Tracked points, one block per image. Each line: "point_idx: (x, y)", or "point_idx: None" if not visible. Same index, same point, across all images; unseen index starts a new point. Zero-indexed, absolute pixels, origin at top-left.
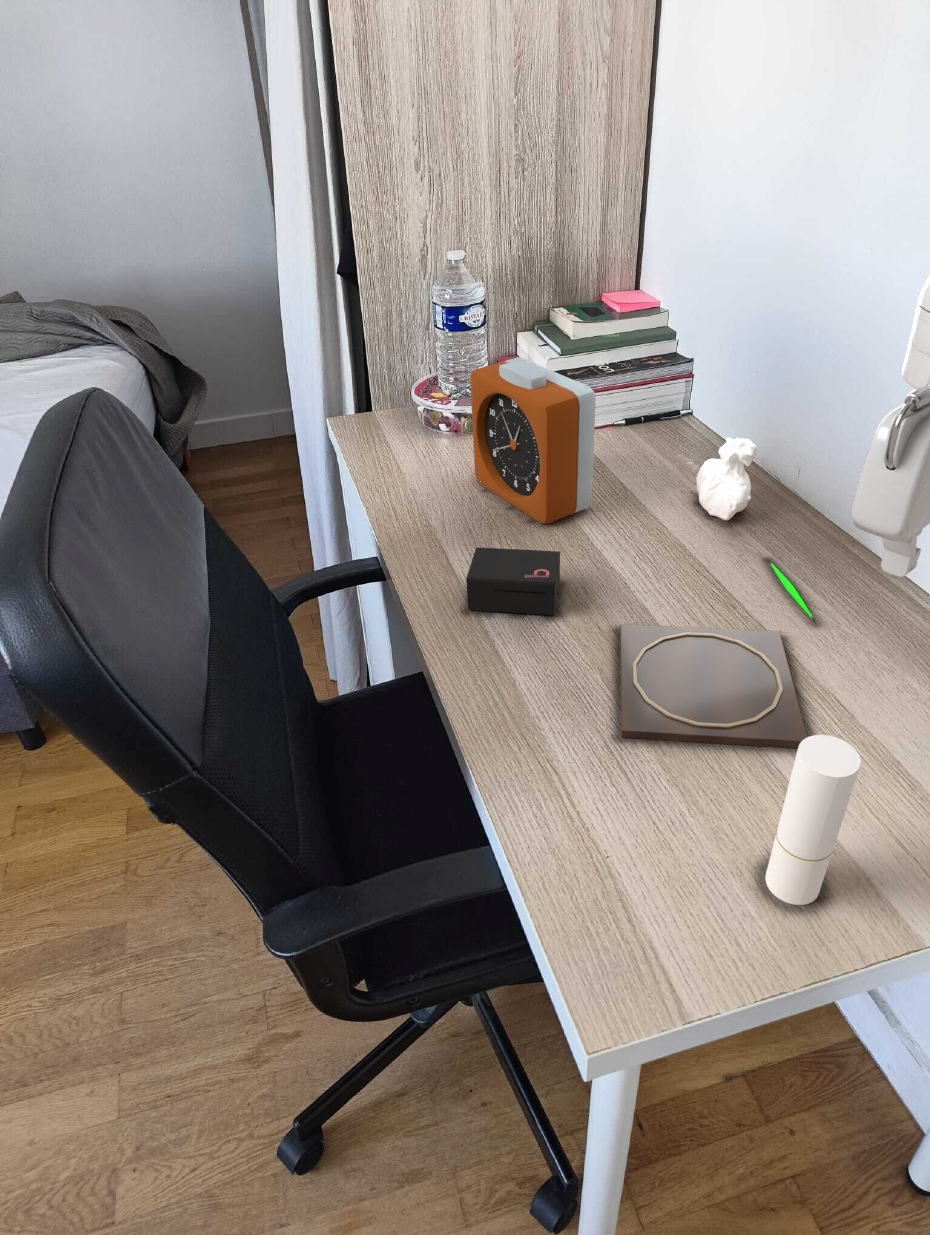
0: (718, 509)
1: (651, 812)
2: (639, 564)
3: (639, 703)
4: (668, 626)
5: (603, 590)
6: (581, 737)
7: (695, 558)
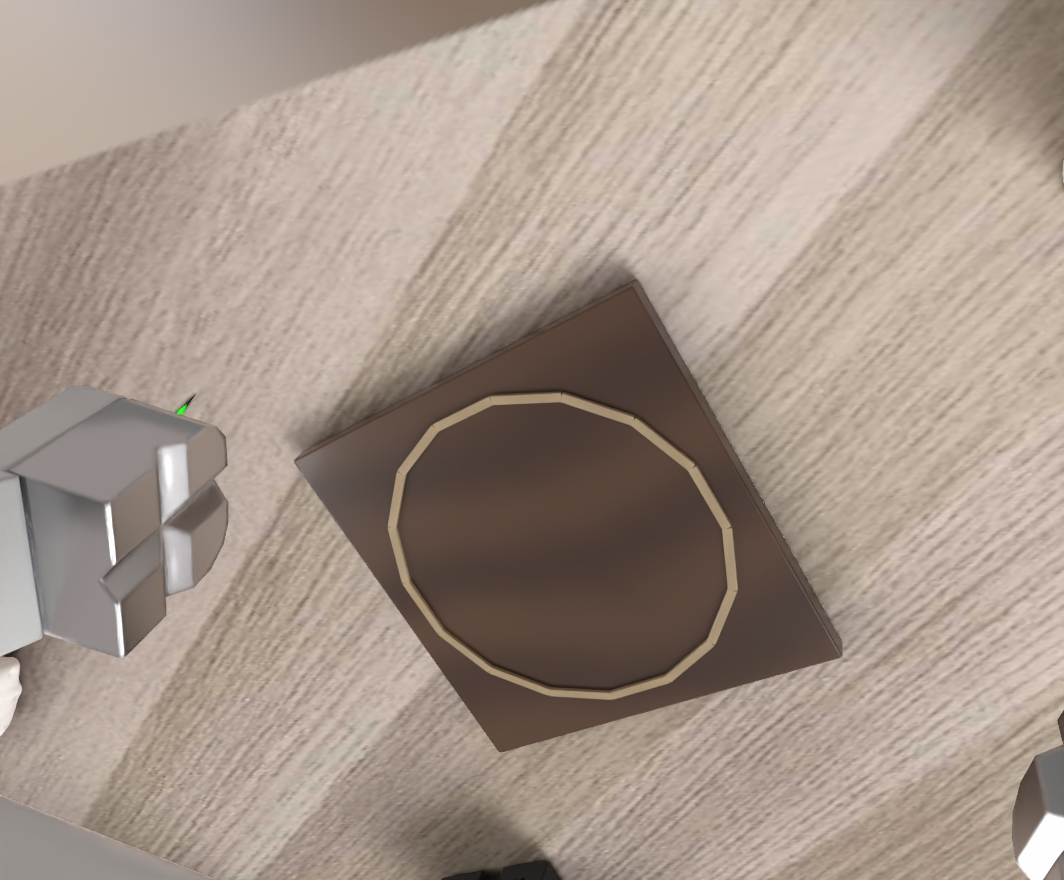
0: (6, 692)
1: (1053, 517)
2: (275, 763)
3: (730, 650)
4: (441, 669)
5: (403, 799)
6: (887, 710)
7: (176, 675)
